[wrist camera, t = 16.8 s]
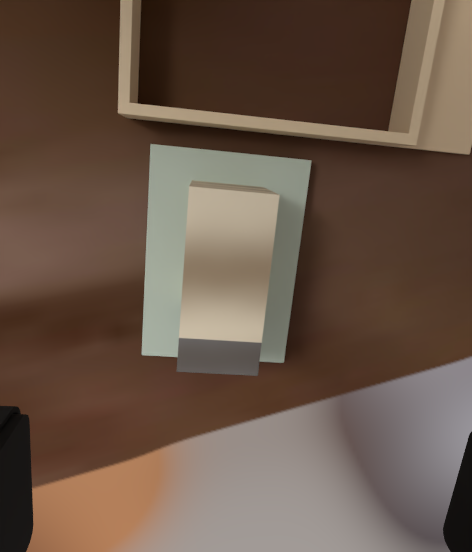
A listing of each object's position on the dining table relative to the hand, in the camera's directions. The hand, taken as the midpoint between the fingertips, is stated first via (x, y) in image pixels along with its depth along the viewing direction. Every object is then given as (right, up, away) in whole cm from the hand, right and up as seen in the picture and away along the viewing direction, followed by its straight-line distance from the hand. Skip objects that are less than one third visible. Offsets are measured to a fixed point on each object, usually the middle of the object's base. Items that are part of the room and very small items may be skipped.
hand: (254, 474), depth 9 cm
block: (-1, +5, +19) cm, 20 cm away
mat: (-1, +5, +20) cm, 21 cm away
